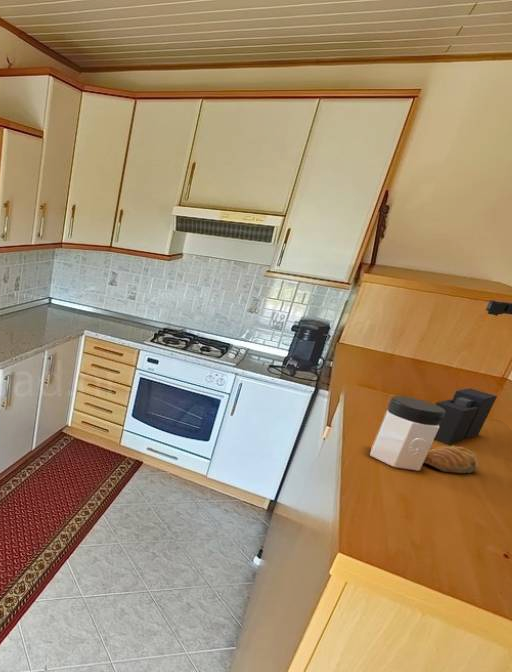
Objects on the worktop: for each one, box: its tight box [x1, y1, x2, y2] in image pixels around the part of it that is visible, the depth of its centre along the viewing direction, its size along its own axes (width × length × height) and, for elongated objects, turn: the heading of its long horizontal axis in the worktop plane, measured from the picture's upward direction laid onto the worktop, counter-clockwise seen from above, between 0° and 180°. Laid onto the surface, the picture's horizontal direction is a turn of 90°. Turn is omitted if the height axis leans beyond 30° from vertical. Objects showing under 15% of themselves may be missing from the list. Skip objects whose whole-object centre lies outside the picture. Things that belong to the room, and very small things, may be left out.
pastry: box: [423, 445, 480, 474], centre depth 95 cm, size 9×7×4 cm
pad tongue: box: [451, 387, 498, 440], centre depth 112 cm, size 10×5×10 cm, turn 117°
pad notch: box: [434, 398, 478, 445], centre depth 109 cm, size 7×5×8 cm
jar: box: [369, 395, 445, 472], centre depth 94 cm, size 9×8×12 cm
